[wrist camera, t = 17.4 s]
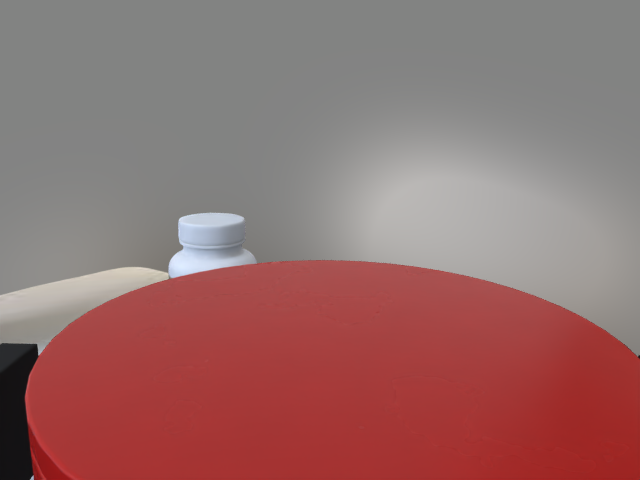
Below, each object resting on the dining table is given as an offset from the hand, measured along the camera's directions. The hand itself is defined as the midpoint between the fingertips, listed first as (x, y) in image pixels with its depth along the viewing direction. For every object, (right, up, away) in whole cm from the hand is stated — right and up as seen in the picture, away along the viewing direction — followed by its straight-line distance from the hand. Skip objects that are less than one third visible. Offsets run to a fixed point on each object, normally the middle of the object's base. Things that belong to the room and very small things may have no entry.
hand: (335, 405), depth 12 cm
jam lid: (0, +2, -4) cm, 4 cm away
